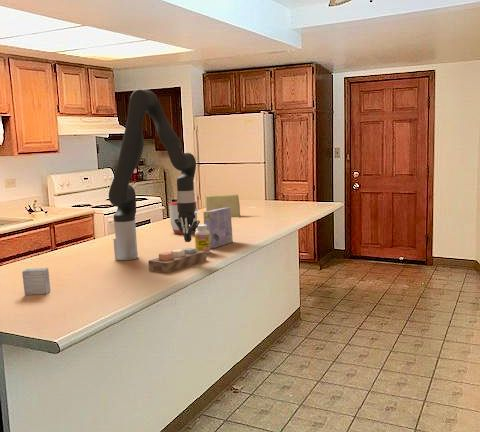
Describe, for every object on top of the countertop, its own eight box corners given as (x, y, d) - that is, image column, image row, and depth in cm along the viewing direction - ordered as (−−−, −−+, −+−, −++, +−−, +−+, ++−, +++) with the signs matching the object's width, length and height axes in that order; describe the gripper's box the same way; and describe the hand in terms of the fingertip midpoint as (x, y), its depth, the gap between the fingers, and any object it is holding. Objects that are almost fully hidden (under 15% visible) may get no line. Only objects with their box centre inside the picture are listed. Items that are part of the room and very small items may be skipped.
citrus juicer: (187, 236, 291) (185, 199, 288) (164, 233, 302) (162, 198, 299) (206, 231, 303) (204, 196, 301) (184, 229, 314) (181, 195, 311)
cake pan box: (226, 241, 273) (224, 206, 270) (234, 241, 270) (232, 206, 268) (204, 248, 257) (202, 211, 254) (213, 249, 254) (211, 212, 251)
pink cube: (166, 264, 216) (165, 254, 215) (159, 263, 218) (158, 254, 218) (173, 262, 219) (172, 252, 219) (166, 261, 222) (165, 252, 221)
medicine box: (51, 290, 195) (48, 267, 193) (47, 294, 190) (44, 270, 189) (28, 292, 194) (26, 268, 193) (24, 295, 190) (21, 271, 189)
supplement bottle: (197, 255, 243) (195, 226, 241) (194, 252, 249) (192, 224, 247) (211, 253, 245) (210, 225, 243) (208, 250, 251) (207, 223, 249)
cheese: (242, 216, 355) (241, 193, 353) (237, 218, 346) (235, 195, 344) (212, 215, 364) (211, 193, 362) (206, 218, 355) (204, 195, 353)
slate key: (189, 259, 227) (189, 250, 227) (182, 258, 230) (182, 249, 229) (196, 257, 230) (195, 248, 230) (189, 256, 233) (188, 247, 232)
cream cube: (178, 261, 222) (177, 251, 221) (171, 260, 224) (170, 251, 223) (185, 259, 225) (184, 250, 224) (177, 258, 227) (177, 249, 227)
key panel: (166, 273, 212) (166, 263, 212) (149, 270, 218) (148, 260, 218) (206, 260, 231) (205, 251, 231) (188, 258, 237) (188, 249, 237)
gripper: (203, 200, 225) (205, 241, 228) (180, 199, 233) (182, 238, 236) (191, 203, 220) (193, 244, 222) (168, 201, 227) (170, 241, 230)
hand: (187, 241), depth 229 cm, fingers closed
